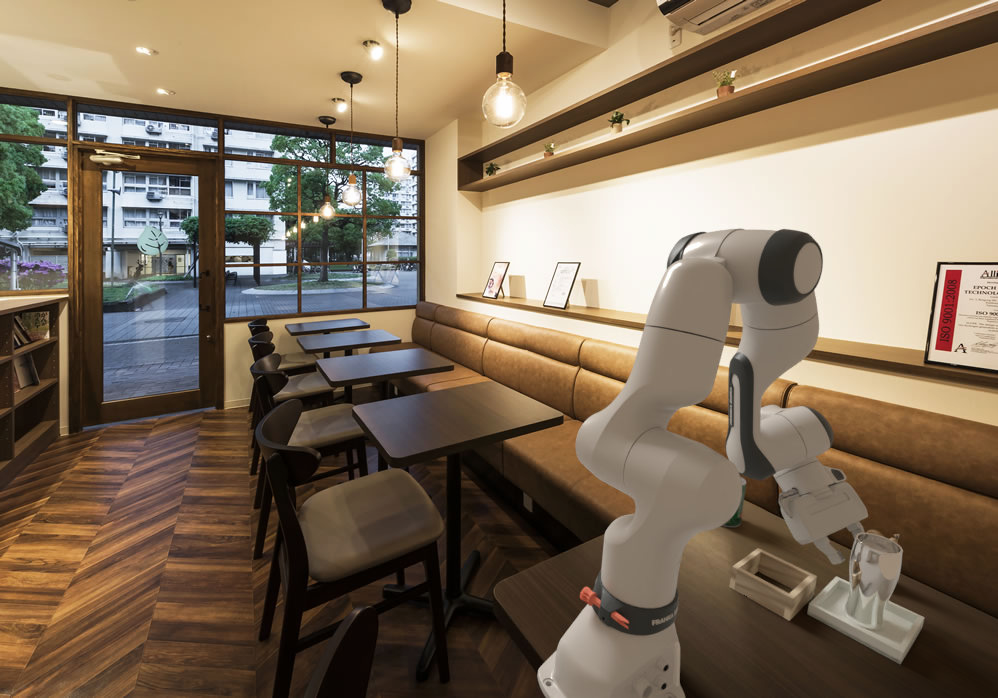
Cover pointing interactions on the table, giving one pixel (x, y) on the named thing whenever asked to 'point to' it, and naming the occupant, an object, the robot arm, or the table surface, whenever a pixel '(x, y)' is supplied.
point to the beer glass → (872, 579)
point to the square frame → (768, 593)
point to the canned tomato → (736, 518)
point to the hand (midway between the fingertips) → (853, 556)
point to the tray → (887, 641)
